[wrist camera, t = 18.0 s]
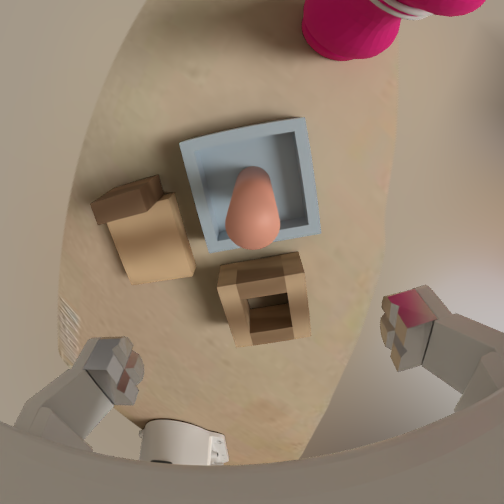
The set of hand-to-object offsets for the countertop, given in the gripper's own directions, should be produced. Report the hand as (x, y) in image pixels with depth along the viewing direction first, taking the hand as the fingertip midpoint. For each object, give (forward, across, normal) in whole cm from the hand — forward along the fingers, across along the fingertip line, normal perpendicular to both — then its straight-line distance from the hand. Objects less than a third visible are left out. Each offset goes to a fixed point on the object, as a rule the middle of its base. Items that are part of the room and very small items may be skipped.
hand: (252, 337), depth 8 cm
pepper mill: (+19, +10, +14) cm, 26 cm away
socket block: (+20, -1, -12) cm, 23 cm away
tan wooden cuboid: (+20, -11, -3) cm, 23 cm away
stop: (+19, -11, +2) cm, 22 cm away
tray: (+19, 0, 0) cm, 19 cm away
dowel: (+18, 0, 0) cm, 18 cm away
